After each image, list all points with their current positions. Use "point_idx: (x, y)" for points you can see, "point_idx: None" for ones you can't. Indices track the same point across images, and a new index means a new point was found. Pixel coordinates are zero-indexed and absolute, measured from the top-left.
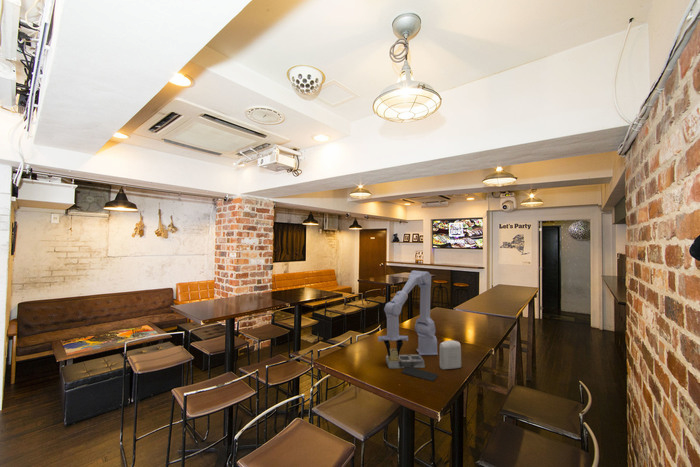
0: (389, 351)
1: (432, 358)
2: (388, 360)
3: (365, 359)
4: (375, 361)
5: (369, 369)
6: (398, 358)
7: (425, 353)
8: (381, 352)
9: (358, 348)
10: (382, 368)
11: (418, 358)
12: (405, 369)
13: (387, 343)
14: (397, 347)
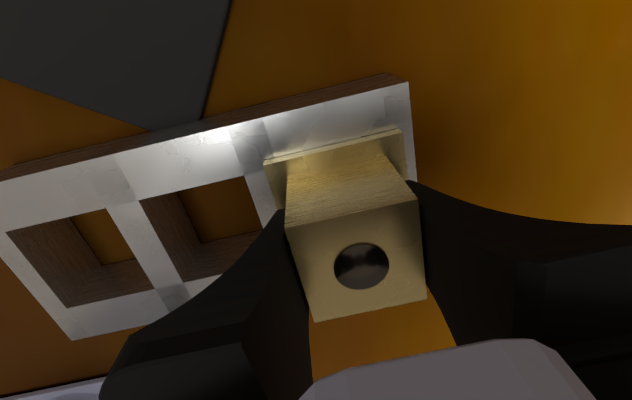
0: (430, 203)
1: (11, 345)
2: (406, 131)
3: None
4: (502, 210)
5: (608, 6)
6: (278, 184)
7: (78, 395)
8: None
9: None
10: (454, 62)
11: (86, 288)
12: (191, 51)
13: (616, 270)
14: (288, 301)
